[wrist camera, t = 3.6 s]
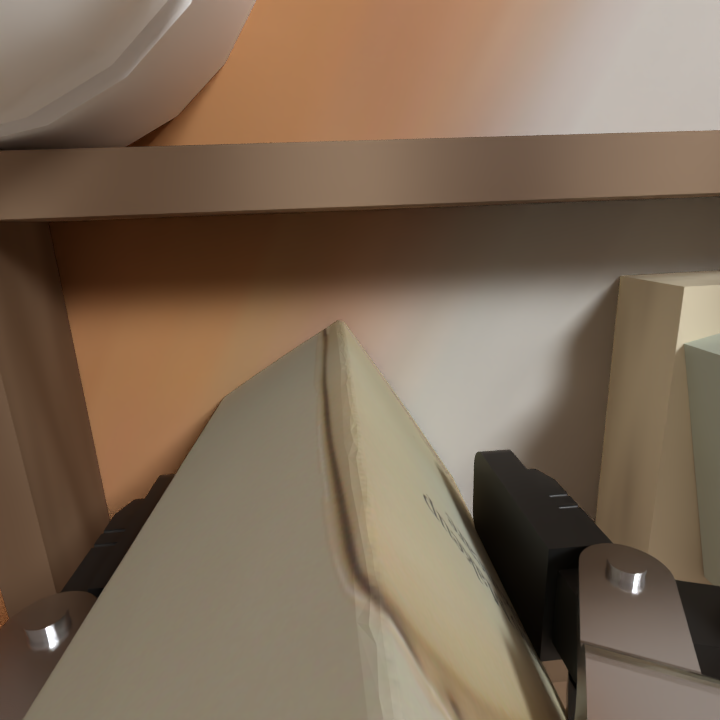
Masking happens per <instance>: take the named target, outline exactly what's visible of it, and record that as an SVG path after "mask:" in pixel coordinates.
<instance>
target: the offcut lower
mask: <svg viewBox="0 0 720 720" xmlns="http://www.w3.org/2000/svg"><path fill="white" fill-rule="evenodd" d="M719 333H720V270H714V271H697V272H679V273H661V274H644V275H626V276H620V282H619V292H618V302H617V312H616V322H615V332H614V342H613V351H612V361H611V371H610V381H609V391H608V401H607V411H606V421H605V431H604V441H603V451H602V461H601V471H600V481H599V490H598V500H597V510H596V520H595V524H596V525H597V526H598V527H599V528H600V529H601V531H602V532H603V533H604V534H605V535H606V536H607V537H608V538H609V539H610V540H611V541H612V543H613V544H621V545H625V546H629V547H632V548H636V549H638V550H641V551H643V552H645V553H647V554H649V555H651V556H653V557H654V558H656V559H657V560H659V561H660V562H661V563H663V564H664V565H665V566H666V567H667V568H668V569H669V570H670V572H671V573H672V575H673V576H674V579H675V580H680V581H686V582H693V583H701V584H708V585H713V584H712V583H710V582H709V581H708V580H707V579H706V578H705V577H704V569H703V557H702V546H701V534H700V523H699V511H698V500H697V488H696V477H695V465H694V454H693V442H692V431H691V419H690V408H689V396H688V385H687V373H686V362H685V350H684V343H688V342H691V341H695V340H698V339H701V338H705V337H708V336H712V335H715V334H719Z"/></svg>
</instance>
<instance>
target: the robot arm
mask: <svg viewBox="0 0 720 720" xmlns="http://www.w3.org/2000/svg"><path fill="white" fill-rule="evenodd" d="M175 475H176V474H168V475H160V476H159V477H158V479H157V480H156V482H155V484H154V485H153V487H152V488H151V490H150V491H149V493H148V495H147V496H146V498H145V499H135V500H133V501H132V502H131V503H129V504H128V505H127V506H125V507H124V508H123V509H121V510H120V511H119V512H117V513H116V514H115V515H114V517H113V518H112V519H111V521H110V522H109V524H108V525H107V527H106V528H105V529H104V534H101V535H100V537H99V538H98V539H97V541H96V542H95V544H94V548H91V549H90V551H89V552H88V554H87V555H86V556H85V558H84V559H83V561H82V562H81V564H80V565H79V566H78V568H77V569H76V571H75V572H74V574H73V575H72V576H71V578H70V579H69V581H68V582H67V583H66V585H65V586H64V588H63V589H62V591H61V592H60V593H57V594H54V595H50V596H47V597H45V598H43V599H40V600H38V601H36V602H34V603H32V604H30V605H28V606H27V607H25V608H23V609H22V610H20V611H19V612H18V613H16V614H15V615H14V616H12V617H11V618H10V619H9V620H8V621H7V622H6V623H5V624H4V625H3V626H2V627H1V628H0V720H22V719H23V718H24V716H25V715H26V713H27V711H28V710H29V708H30V707H31V705H32V703H33V702H34V700H35V698H36V697H37V695H38V694H39V692H40V690H41V689H42V687H43V686H44V684H45V682H46V681H47V679H48V678H49V676H50V674H51V673H52V671H53V670H54V668H55V666H56V665H57V663H58V662H59V660H60V658H61V657H62V655H63V654H64V652H65V650H66V649H67V647H68V646H69V644H70V642H71V641H72V639H73V638H74V636H75V634H76V633H77V631H78V630H79V628H80V626H81V625H82V623H83V621H84V620H85V618H86V617H87V615H88V613H89V612H90V610H91V609H92V607H93V605H94V604H95V602H96V601H97V599H98V597H99V596H100V594H101V592H102V591H103V589H104V588H105V586H106V585H107V583H108V581H109V580H110V578H111V577H112V575H113V574H114V572H115V570H116V569H117V567H118V566H119V564H120V562H121V561H122V559H123V558H124V556H125V554H126V553H127V551H128V550H129V548H130V547H131V545H132V543H133V542H134V540H135V539H136V537H137V535H138V534H139V532H140V531H141V529H142V527H143V526H144V524H145V523H146V521H147V519H148V518H149V516H150V515H151V513H152V511H153V510H154V508H155V507H156V505H157V503H158V502H159V500H160V499H161V497H162V495H163V494H164V492H165V491H166V489H167V487H168V486H169V484H170V483H171V481H172V479H173V478H174V476H175ZM473 520H474V526H475V529H476V531H477V533H478V536H479V538H480V540H481V542H482V544H483V546H484V548H485V550H486V552H487V554H488V556H489V558H490V560H491V562H492V564H493V566H494V568H495V570H496V572H497V574H498V576H499V578H500V581H501V583H502V585H503V587H504V589H505V591H506V593H507V595H508V597H509V599H510V601H511V603H512V605H513V607H514V609H515V611H516V613H517V615H518V617H519V619H520V621H521V623H522V625H523V627H524V629H525V631H526V633H527V635H528V637H529V639H530V641H531V643H532V646H533V648H534V650H535V652H536V654H537V656H538V658H539V660H540V661H541V662H543V661H552V660H563V662H564V664H565V666H566V668H567V669H568V676H567V686H566V715H567V720H720V586H715V585H708V584H701V583H693V582H686V581H680V580H675V579H674V576H673V575H672V573H671V572H670V570H669V569H668V568H667V567H666V566H665V565H664V564H663V563H661V562H660V561H659V560H657V559H656V558H654V557H653V556H651V555H649V554H647V553H645V552H643V551H641V550H638V549H636V548H632V547H629V546H625V545H621V544H613V543H612V541H611V540H610V539H609V538H608V537H607V536H606V535H605V534H604V533H603V532H602V531H601V529H600V528H599V527H598V526H597V525H596V524H595V523H594V522H593V521H592V520H591V519H590V518H589V516H588V515H587V514H586V513H585V512H584V511H583V510H582V509H581V508H578V505H577V503H576V502H575V501H574V500H573V499H572V498H571V497H570V496H568V495H567V493H566V491H565V490H564V489H563V488H562V487H561V486H560V485H559V484H558V483H557V482H556V481H555V480H554V479H552V478H551V477H549V476H547V475H545V474H543V473H542V472H540V471H538V470H536V469H528V470H527V469H526V468H525V466H524V465H523V464H522V463H521V462H520V461H519V459H518V458H517V457H516V456H515V455H514V453H513V452H512V451H511V450H497V451H483V452H477V453H476V455H475V460H474V489H473Z"/></svg>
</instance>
